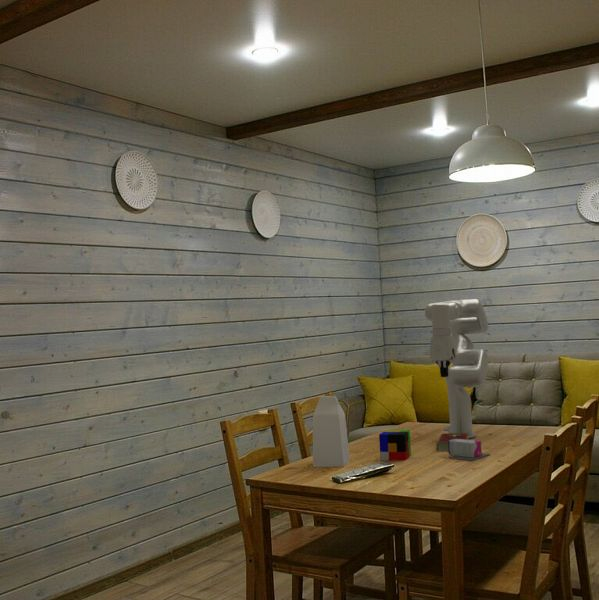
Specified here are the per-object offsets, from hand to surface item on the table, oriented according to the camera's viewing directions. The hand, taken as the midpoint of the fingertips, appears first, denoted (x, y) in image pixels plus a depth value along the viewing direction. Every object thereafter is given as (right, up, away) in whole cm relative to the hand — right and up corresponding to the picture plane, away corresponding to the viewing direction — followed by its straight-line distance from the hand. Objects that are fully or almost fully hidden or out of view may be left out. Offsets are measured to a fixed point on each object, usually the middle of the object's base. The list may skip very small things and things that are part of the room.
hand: (444, 376), depth 308 cm
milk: (-48, -32, -21) cm, 61 cm away
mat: (+5, -28, -24) cm, 37 cm away
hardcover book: (+4, -30, 0) cm, 30 cm away
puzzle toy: (-22, -30, -17) cm, 42 cm away
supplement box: (-1, -26, -18) cm, 31 cm away
